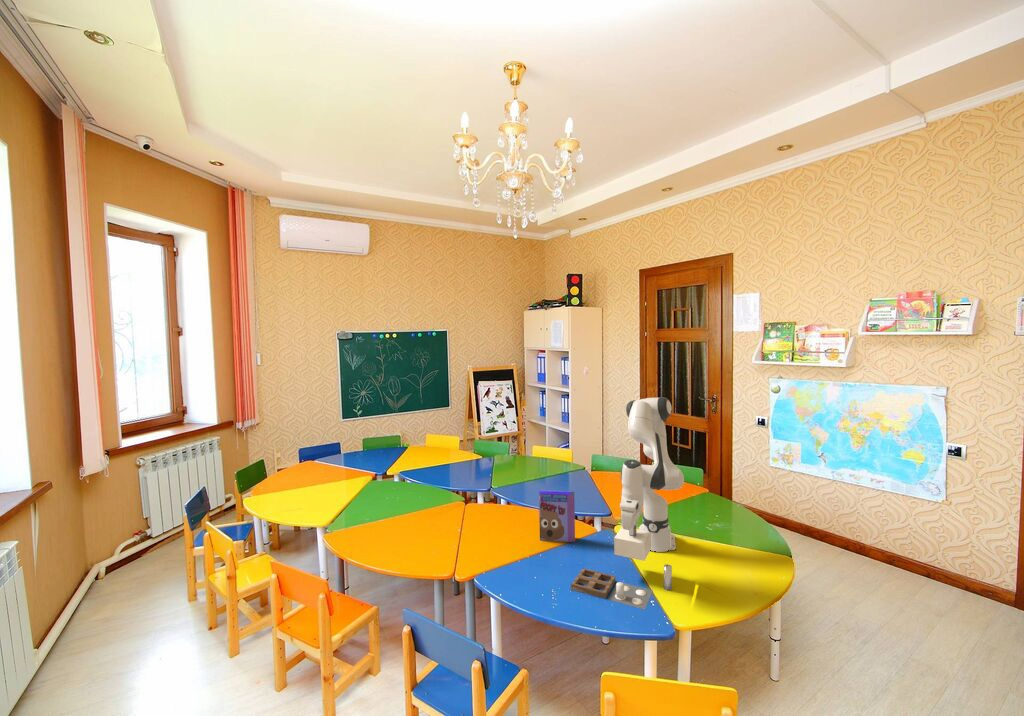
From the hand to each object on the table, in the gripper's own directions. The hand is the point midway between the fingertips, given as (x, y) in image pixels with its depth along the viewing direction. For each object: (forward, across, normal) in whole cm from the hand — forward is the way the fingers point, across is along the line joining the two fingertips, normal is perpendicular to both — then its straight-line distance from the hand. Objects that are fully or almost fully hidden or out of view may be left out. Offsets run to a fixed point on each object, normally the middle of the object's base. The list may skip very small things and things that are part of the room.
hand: (632, 532), depth 186 cm
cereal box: (+19, -17, -42) cm, 49 cm away
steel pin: (+19, +5, +15) cm, 25 cm away
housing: (+8, 0, 0) cm, 8 cm away
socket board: (+19, +16, -12) cm, 27 cm away
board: (+19, +16, +3) cm, 25 cm away
